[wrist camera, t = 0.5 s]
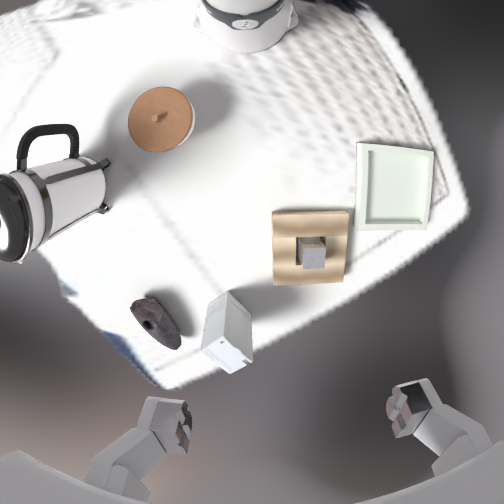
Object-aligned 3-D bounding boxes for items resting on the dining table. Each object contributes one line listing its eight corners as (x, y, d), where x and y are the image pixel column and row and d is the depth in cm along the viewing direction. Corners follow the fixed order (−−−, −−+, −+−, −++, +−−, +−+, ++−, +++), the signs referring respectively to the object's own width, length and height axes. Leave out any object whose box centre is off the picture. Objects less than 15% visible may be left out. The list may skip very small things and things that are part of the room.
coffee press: (134, 189, 49) (28, 249, 21) (85, 230, 52) (-9, 302, 24) (93, 121, 43) (-25, 128, 15) (48, 169, 46) (-56, 206, 19)
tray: (356, 142, 45) (362, 143, 42) (425, 150, 44) (433, 151, 42) (353, 225, 51) (358, 230, 48) (419, 225, 51) (426, 229, 48)
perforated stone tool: (190, 335, 62) (184, 355, 56) (173, 341, 63) (166, 361, 57) (152, 286, 57) (142, 303, 51) (136, 294, 58) (124, 312, 52)
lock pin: (298, 236, 52) (303, 248, 47) (318, 235, 52) (326, 247, 47) (298, 255, 54) (302, 269, 48) (317, 255, 54) (324, 268, 48)
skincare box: (208, 303, 58) (196, 349, 45) (229, 288, 57) (222, 334, 43) (233, 327, 61) (227, 376, 47) (254, 314, 59) (253, 363, 46)
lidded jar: (159, 87, 41) (139, 77, 32) (211, 104, 43) (201, 96, 34) (137, 139, 45) (114, 140, 36) (187, 158, 47) (172, 163, 38)
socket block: (271, 211, 50) (272, 215, 48) (344, 210, 50) (348, 214, 48) (272, 279, 56) (273, 285, 53) (339, 276, 55) (342, 282, 53)
